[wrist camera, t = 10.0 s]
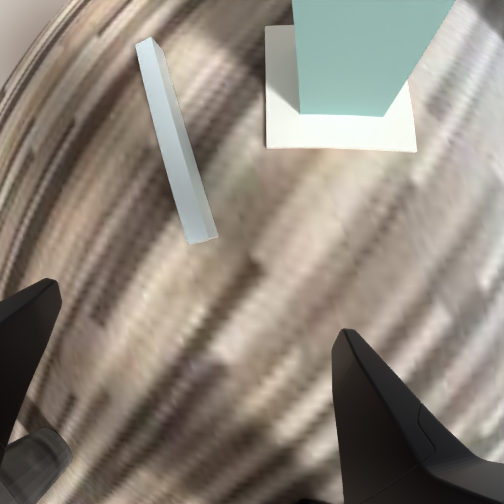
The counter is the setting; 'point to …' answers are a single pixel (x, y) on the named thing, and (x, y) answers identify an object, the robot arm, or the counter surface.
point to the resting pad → (324, 126)
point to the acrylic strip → (175, 145)
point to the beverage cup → (32, 466)
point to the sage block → (360, 51)
